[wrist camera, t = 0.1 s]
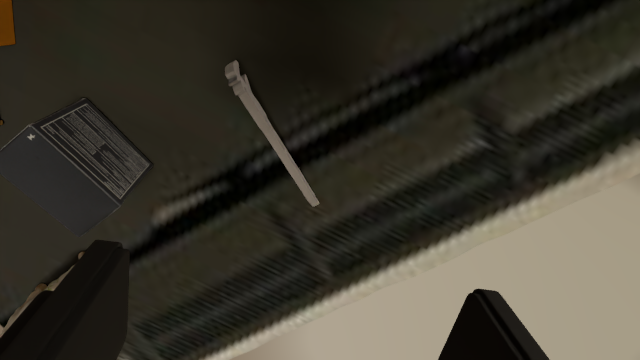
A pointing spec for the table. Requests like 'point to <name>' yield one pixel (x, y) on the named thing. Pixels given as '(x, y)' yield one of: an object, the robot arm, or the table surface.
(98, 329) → the robot arm
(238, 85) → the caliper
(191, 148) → the table surface
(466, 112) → the table surface
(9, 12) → the tape case
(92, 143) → the small box
